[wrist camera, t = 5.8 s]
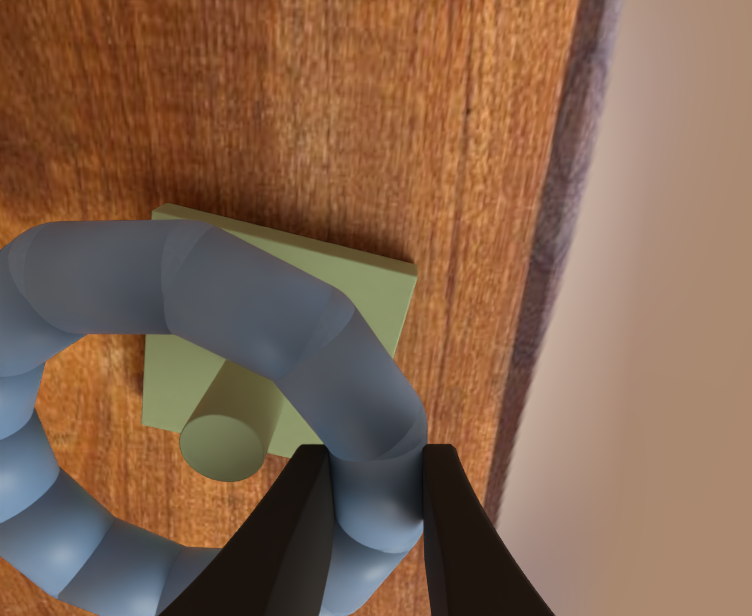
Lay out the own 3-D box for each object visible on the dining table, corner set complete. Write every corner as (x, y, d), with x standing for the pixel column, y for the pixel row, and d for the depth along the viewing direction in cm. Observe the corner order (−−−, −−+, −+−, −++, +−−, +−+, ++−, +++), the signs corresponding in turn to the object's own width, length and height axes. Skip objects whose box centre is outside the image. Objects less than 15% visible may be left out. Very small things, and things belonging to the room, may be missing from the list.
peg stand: (417, 263, 18) (422, 351, 12) (360, 454, 22) (345, 587, 16) (166, 201, 17) (52, 262, 12) (153, 406, 21) (63, 527, 16)
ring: (428, 202, 10) (429, 237, 8) (426, 592, 15) (426, 673, 13) (-113, 212, 11) (-232, 245, 9) (57, 572, 16) (6, 644, 14)
